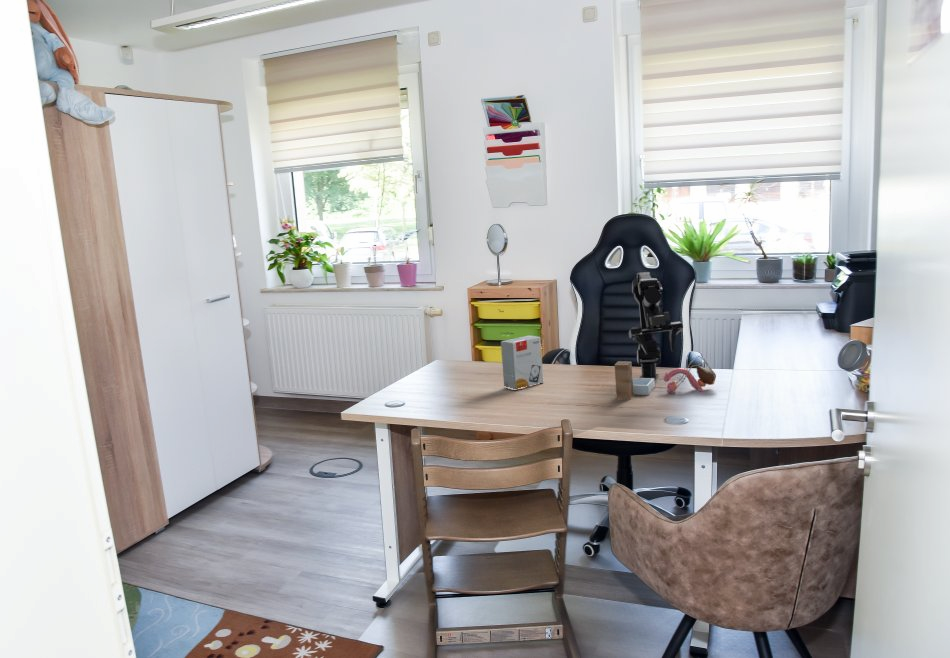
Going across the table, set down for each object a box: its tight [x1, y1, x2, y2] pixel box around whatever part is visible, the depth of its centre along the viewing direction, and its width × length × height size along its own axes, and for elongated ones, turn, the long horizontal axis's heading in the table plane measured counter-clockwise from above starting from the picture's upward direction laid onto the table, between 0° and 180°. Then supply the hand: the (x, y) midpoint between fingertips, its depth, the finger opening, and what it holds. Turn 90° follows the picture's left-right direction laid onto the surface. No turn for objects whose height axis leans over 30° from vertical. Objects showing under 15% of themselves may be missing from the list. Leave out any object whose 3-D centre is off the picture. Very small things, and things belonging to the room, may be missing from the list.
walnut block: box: [614, 360, 634, 400], centre depth 254 cm, size 5×5×13 cm
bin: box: [632, 377, 656, 396], centre depth 262 cm, size 11×11×4 cm
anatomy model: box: [663, 355, 717, 393], centre depth 255 cm, size 11×15×17 cm
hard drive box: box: [500, 335, 544, 389], centre depth 283 cm, size 16×8×20 cm, turn 126°
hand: (659, 352), depth 249 cm, fingers open, 9 cm apart
